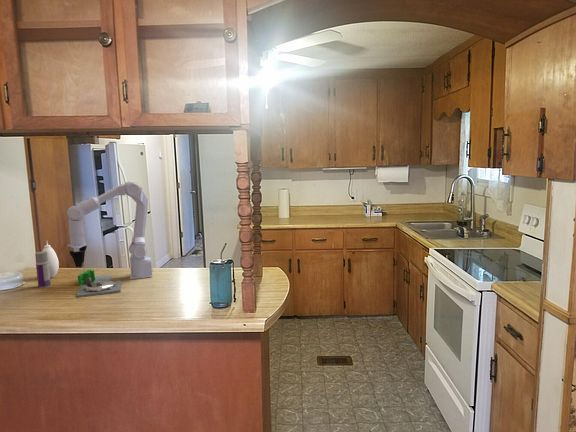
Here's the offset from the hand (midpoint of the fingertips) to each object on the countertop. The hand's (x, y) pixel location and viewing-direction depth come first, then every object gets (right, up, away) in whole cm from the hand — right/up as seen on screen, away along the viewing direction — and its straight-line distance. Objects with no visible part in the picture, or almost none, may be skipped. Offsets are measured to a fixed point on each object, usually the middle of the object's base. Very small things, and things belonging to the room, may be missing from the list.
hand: (80, 264), depth 177 cm
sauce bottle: (-21, -8, +15) cm, 27 cm away
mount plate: (+11, -10, -6) cm, 16 cm away
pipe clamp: (+1, -9, +6) cm, 11 cm away
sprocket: (+11, -10, -6) cm, 16 cm away
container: (-16, -10, +1) cm, 19 cm away
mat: (+6, -8, +8) cm, 13 cm away
